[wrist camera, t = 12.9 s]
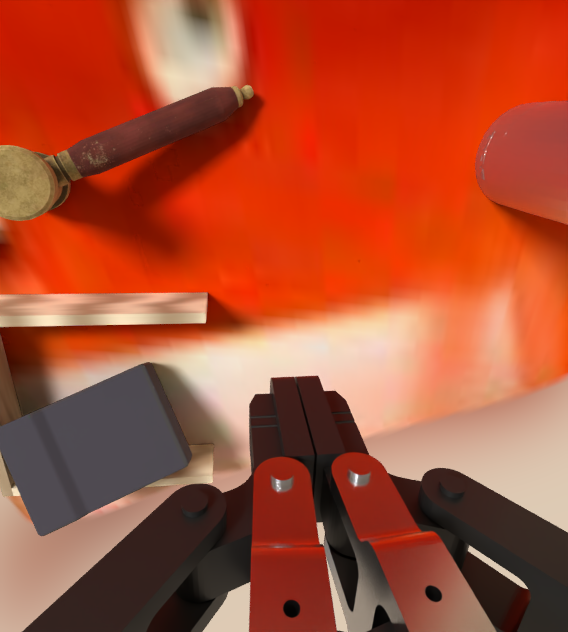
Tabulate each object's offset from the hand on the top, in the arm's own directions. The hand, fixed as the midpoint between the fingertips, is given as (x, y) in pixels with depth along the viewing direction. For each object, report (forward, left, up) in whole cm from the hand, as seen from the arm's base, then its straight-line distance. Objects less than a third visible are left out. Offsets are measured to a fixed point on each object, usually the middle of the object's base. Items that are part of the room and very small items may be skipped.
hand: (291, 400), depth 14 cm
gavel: (+10, -6, -31) cm, 33 cm away
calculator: (+8, +19, -25) cm, 32 cm away
